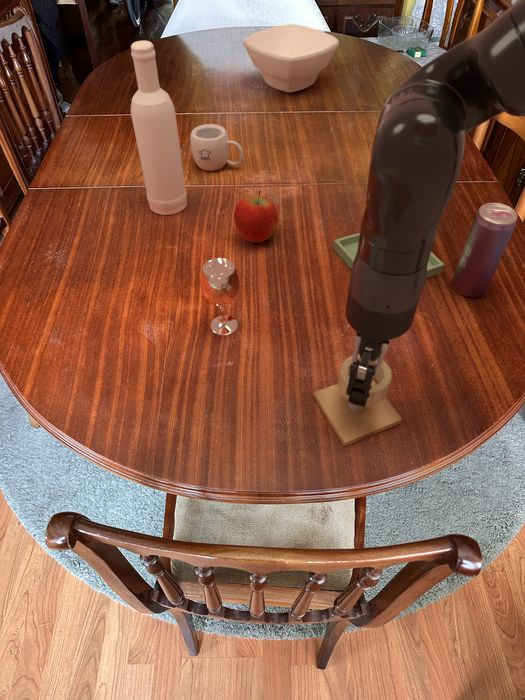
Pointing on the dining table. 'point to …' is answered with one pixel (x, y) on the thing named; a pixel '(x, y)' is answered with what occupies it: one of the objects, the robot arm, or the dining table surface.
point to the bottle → (156, 135)
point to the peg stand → (355, 415)
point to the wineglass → (220, 291)
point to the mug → (212, 147)
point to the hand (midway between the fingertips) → (363, 381)
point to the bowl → (290, 55)
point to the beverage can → (484, 249)
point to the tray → (349, 247)
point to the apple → (256, 218)
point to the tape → (377, 390)
